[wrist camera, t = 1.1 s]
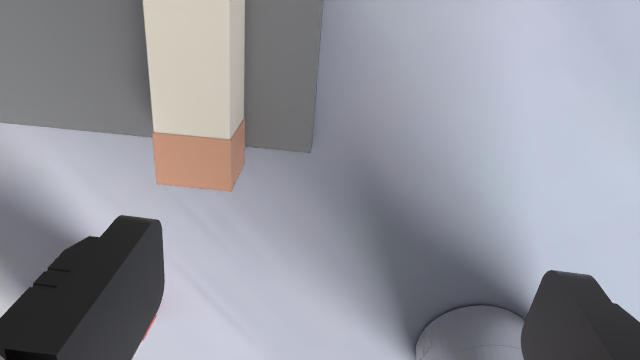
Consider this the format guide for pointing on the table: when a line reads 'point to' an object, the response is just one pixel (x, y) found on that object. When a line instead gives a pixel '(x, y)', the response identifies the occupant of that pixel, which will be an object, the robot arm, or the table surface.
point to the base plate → (133, 74)
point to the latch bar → (197, 90)
